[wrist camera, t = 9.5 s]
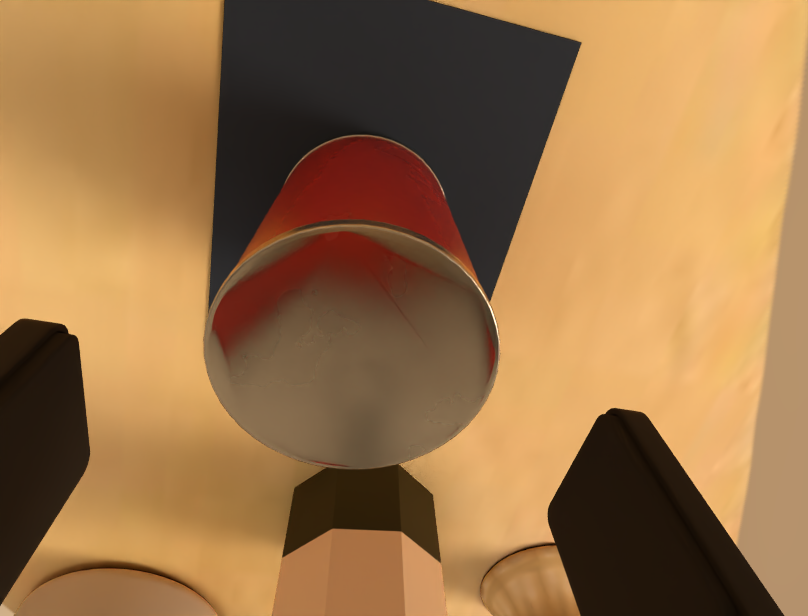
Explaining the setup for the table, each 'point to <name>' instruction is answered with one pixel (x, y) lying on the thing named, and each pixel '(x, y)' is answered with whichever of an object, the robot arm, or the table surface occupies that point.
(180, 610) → the cylinder vase
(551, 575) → the hand bell
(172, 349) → the table surface
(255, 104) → the placemat
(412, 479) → the wine bottle
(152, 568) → the table surface
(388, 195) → the tin can
